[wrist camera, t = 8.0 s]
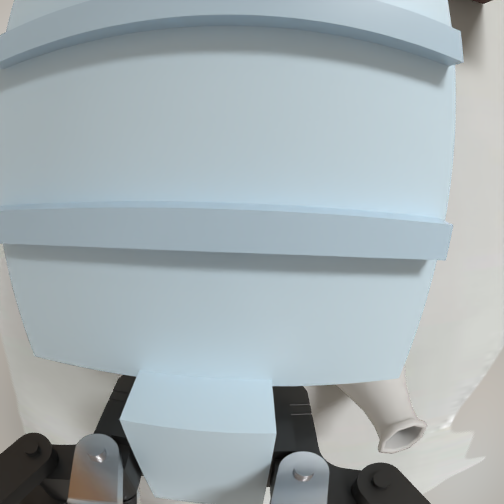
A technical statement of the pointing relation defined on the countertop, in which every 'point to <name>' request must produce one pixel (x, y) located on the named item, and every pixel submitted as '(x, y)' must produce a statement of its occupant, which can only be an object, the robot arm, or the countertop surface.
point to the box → (482, 1)
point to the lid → (224, 207)
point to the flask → (388, 411)
